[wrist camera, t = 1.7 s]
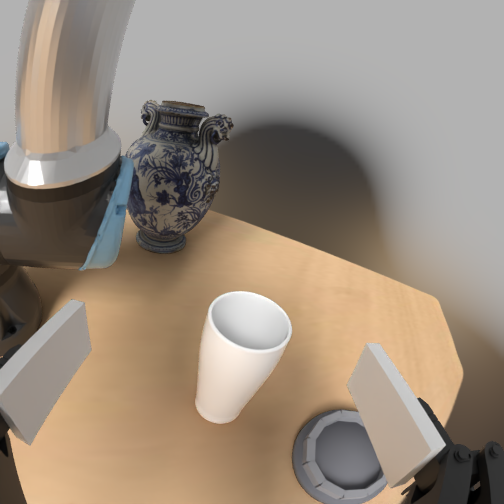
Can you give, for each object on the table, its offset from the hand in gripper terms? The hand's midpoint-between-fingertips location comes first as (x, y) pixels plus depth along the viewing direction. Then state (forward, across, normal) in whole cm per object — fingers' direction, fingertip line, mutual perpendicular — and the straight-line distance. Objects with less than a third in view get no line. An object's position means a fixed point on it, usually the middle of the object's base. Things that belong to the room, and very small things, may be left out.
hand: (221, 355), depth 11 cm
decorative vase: (+44, -15, -9) cm, 47 cm away
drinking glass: (+12, +1, -18) cm, 21 cm away
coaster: (+6, +16, -20) cm, 27 cm away
